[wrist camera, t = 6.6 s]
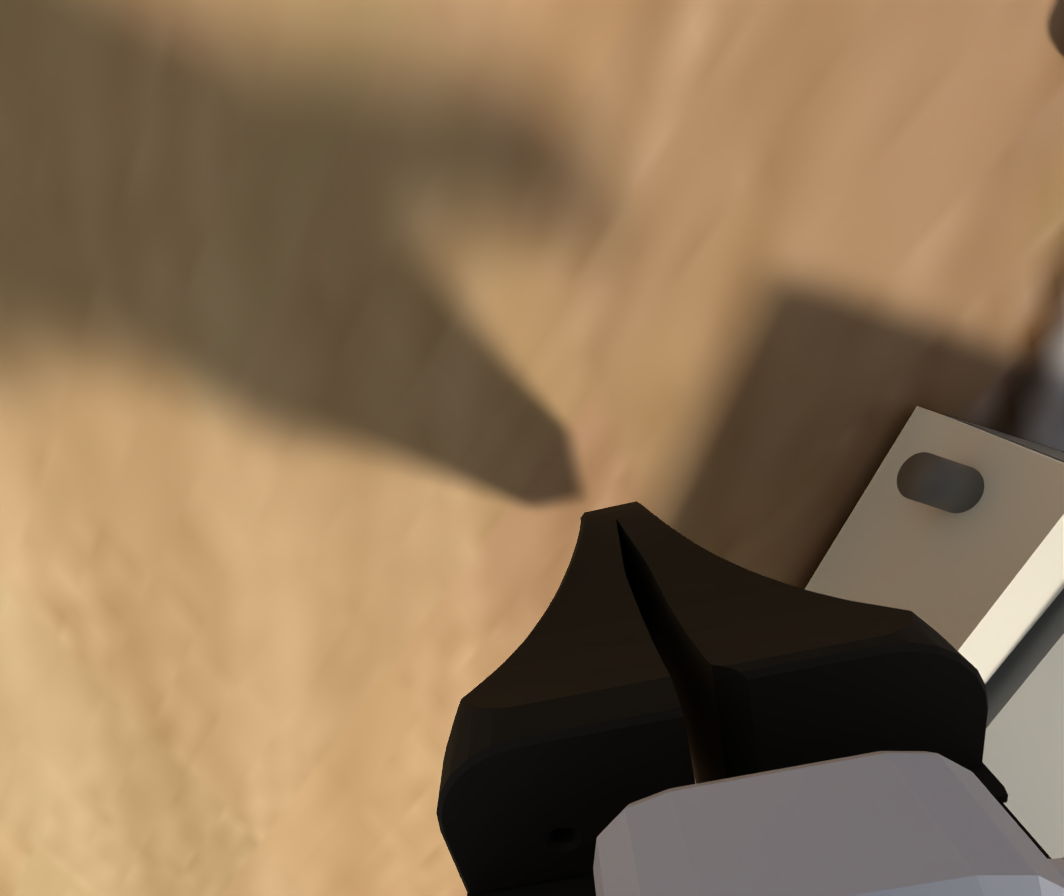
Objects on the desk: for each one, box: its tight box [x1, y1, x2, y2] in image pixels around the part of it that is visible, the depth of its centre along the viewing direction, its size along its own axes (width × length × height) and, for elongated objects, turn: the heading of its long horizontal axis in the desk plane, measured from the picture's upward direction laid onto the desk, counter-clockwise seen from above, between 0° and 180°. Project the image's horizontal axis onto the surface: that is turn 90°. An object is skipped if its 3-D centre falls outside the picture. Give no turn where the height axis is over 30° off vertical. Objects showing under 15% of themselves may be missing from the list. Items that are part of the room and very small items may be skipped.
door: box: [695, 406, 1064, 784], centre depth 13 cm, size 14×2×4 cm, turn 162°
